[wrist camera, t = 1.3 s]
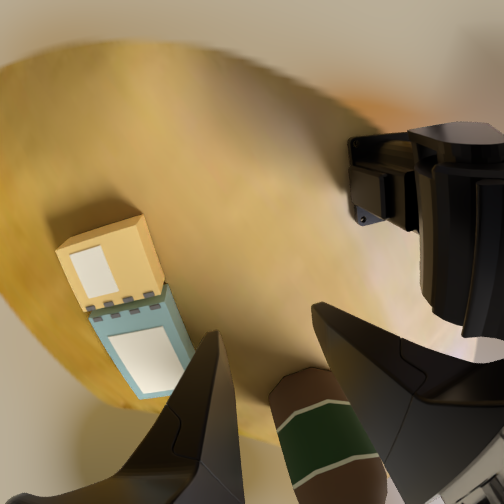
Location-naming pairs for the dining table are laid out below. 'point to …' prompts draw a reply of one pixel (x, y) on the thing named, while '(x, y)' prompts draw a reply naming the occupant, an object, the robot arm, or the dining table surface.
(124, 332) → the pale blue pin-sided card
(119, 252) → the stub
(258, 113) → the dining table surface
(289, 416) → the beer bottle
